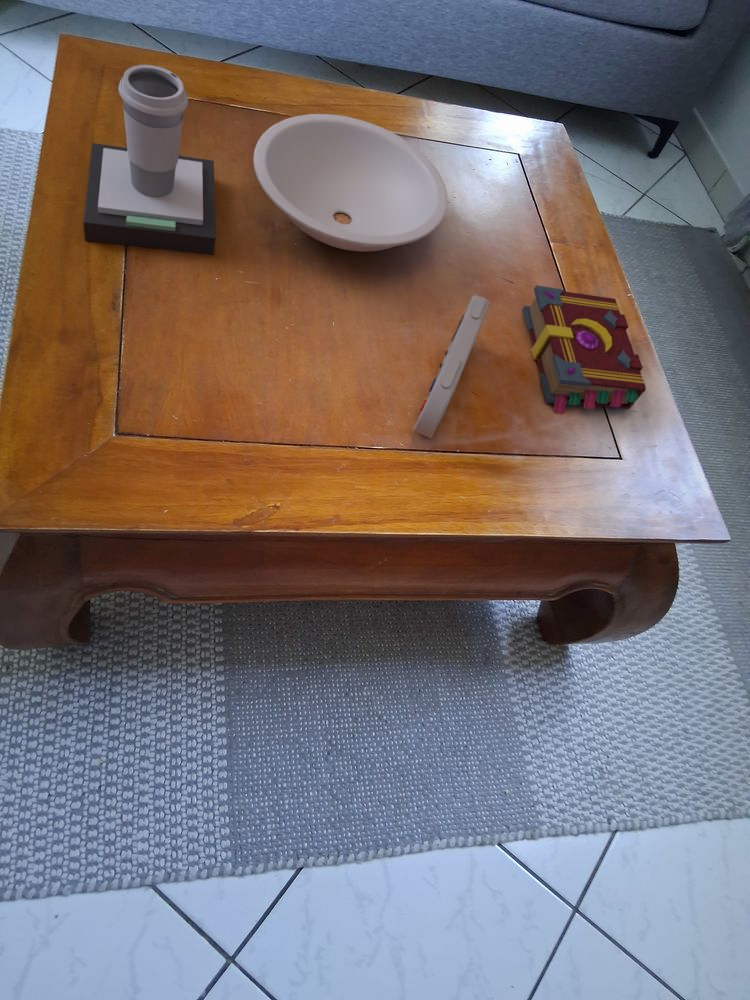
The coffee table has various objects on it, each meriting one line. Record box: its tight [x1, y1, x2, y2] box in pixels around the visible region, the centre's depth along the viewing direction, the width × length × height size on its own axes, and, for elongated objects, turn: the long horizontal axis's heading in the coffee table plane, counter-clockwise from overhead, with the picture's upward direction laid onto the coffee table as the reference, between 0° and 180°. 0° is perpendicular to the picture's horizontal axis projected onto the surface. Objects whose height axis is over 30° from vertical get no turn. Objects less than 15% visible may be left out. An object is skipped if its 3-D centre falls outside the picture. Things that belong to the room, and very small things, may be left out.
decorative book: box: [522, 285, 647, 415], centre depth 92 cm, size 11×16×5 cm
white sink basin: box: [252, 113, 448, 253], centre depth 95 cm, size 24×24×7 cm
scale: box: [82, 142, 216, 256], centre depth 88 cm, size 14×14×3 cm
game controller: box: [413, 294, 491, 439], centre depth 83 cm, size 20×2×8 cm, turn 160°
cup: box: [118, 64, 189, 197], centre depth 82 cm, size 7×7×12 cm
